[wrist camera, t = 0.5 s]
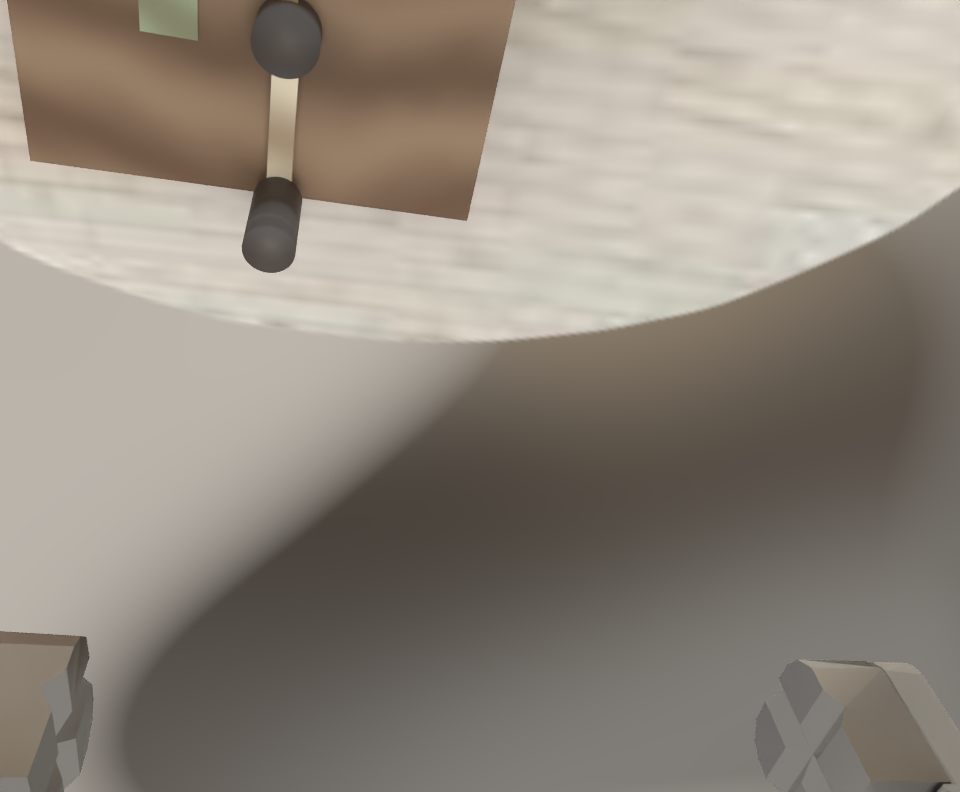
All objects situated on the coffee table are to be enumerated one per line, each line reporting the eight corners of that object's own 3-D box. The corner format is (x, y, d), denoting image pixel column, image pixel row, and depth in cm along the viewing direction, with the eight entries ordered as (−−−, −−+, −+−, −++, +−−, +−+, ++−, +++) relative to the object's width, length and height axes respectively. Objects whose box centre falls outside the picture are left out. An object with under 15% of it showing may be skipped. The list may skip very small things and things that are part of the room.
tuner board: (-5, -211, 34) (-25, -203, 32) (527, -94, 38) (534, -83, 36) (42, 142, 43) (29, 162, 41) (463, 202, 48) (467, 222, 46)
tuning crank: (261, -156, 34) (243, -126, 29) (337, -140, 34) (331, -108, 30) (249, 204, 44) (234, 268, 39) (307, 212, 45) (300, 276, 40)
